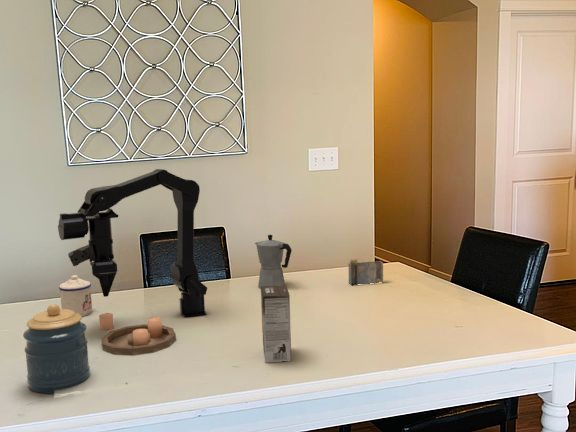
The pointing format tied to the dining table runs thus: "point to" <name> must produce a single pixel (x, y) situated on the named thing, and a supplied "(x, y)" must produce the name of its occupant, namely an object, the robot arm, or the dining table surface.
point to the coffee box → (276, 323)
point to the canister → (56, 350)
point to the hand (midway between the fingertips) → (104, 292)
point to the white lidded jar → (76, 295)
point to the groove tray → (123, 343)
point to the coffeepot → (272, 262)
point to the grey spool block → (365, 272)
